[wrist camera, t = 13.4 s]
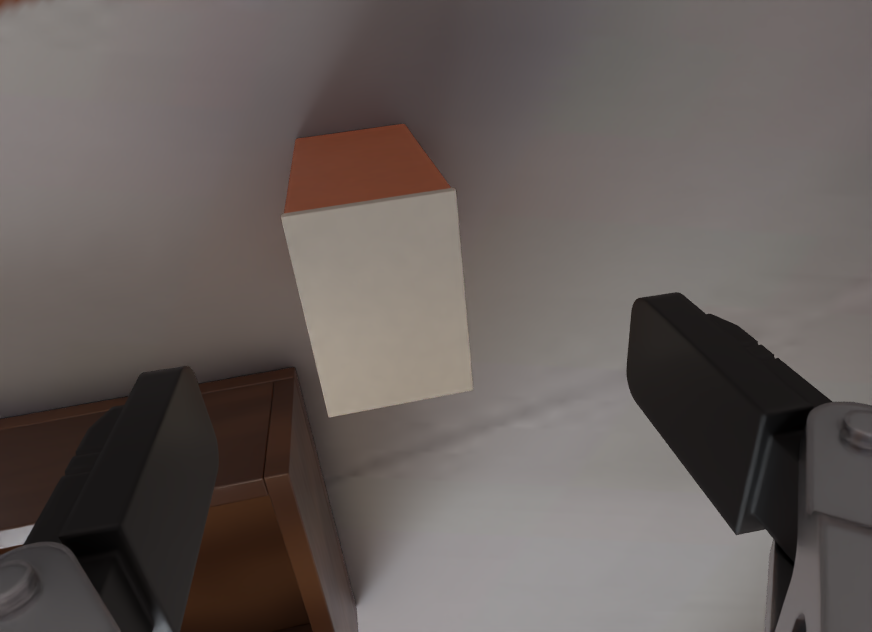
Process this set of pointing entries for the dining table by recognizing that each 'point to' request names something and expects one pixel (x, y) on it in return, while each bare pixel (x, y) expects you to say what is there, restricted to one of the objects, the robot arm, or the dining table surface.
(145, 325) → the dining table surface
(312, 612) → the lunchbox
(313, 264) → the drink carton
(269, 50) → the dining table surface
